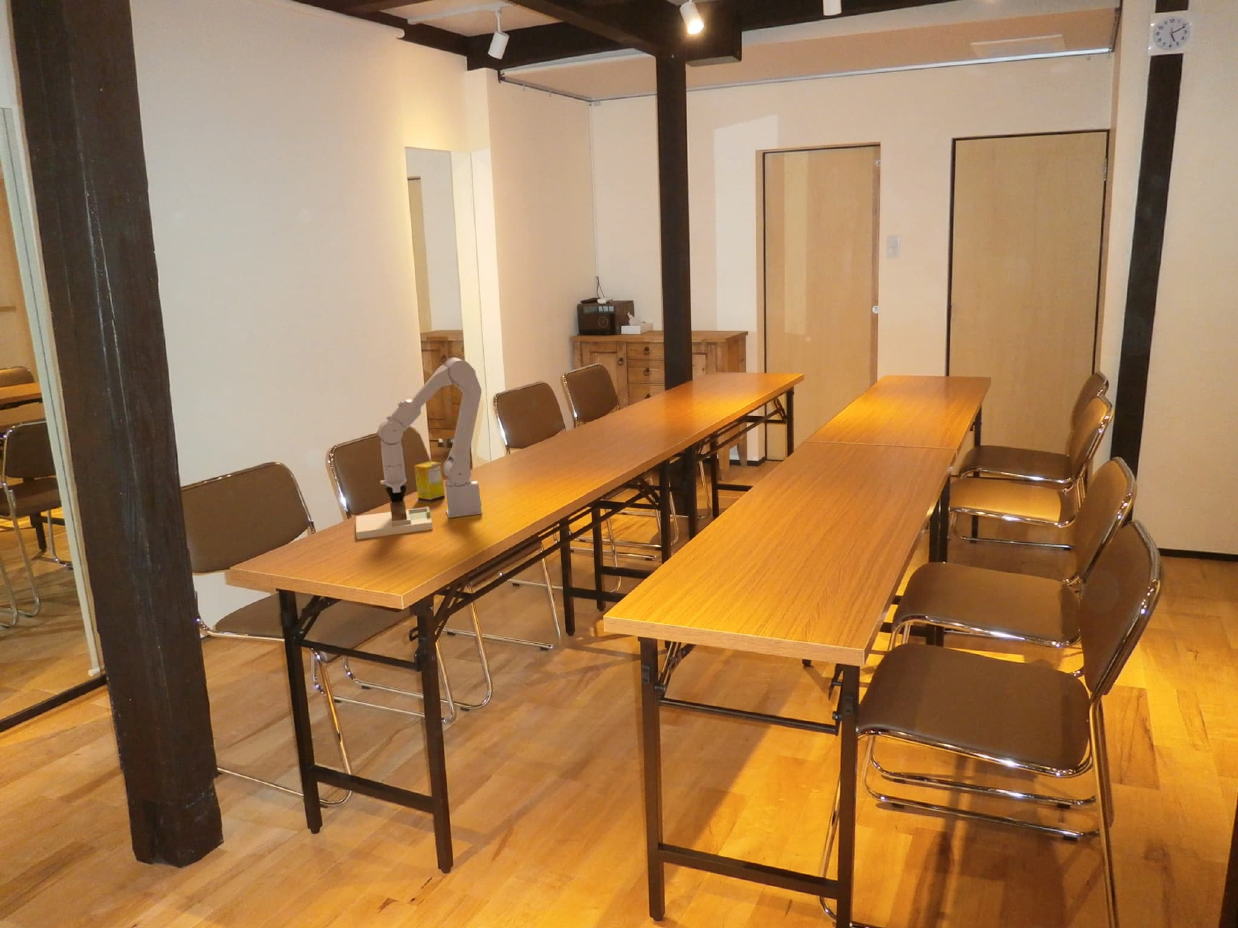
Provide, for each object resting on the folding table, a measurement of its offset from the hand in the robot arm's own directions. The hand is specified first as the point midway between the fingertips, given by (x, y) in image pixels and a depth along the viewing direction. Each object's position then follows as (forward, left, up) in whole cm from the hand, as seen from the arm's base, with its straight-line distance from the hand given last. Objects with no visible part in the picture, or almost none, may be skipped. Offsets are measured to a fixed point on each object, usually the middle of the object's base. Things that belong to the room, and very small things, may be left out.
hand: (398, 511), depth 271 cm
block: (0, +2, -1) cm, 3 cm away
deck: (+2, +2, -3) cm, 4 cm away
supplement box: (-10, -23, -4) cm, 25 cm away
